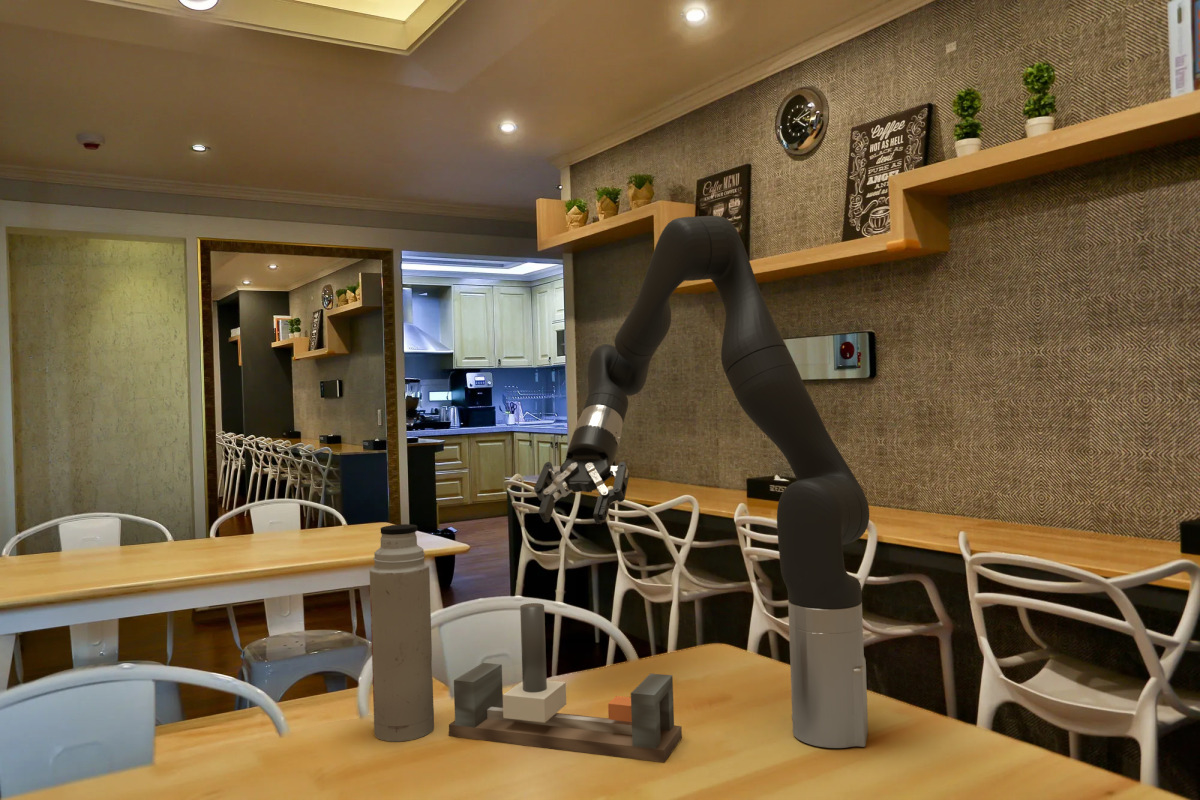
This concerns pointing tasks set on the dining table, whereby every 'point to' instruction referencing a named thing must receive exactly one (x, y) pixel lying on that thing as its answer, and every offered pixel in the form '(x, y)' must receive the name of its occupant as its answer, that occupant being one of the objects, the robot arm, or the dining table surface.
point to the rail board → (569, 720)
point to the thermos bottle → (401, 637)
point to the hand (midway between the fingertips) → (570, 519)
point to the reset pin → (620, 709)
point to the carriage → (534, 674)
